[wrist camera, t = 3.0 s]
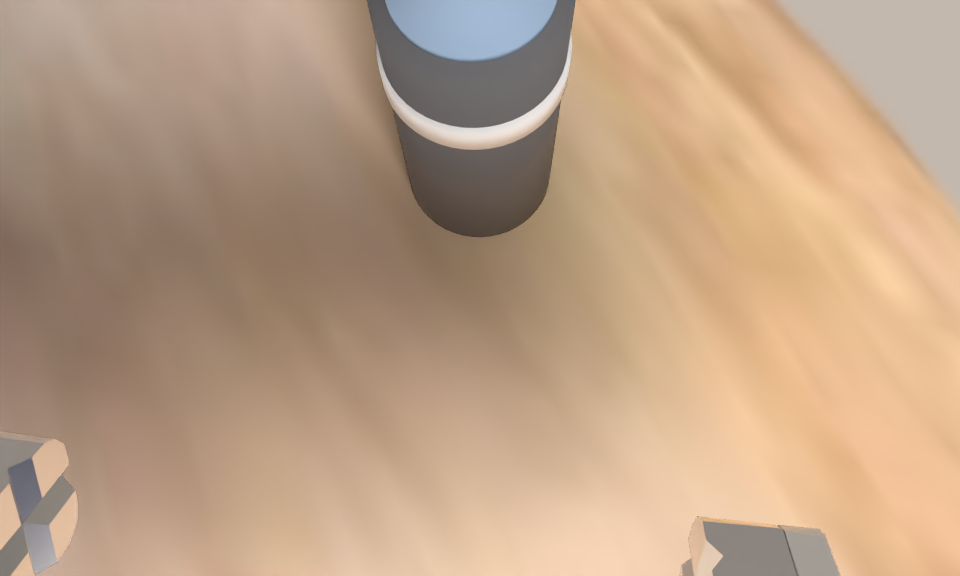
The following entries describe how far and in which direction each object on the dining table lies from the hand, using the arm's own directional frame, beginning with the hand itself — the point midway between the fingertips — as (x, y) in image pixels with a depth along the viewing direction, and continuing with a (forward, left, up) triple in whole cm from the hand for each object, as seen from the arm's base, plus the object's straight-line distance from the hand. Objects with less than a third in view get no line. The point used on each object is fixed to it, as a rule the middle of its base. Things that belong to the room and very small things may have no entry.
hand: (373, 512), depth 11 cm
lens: (0, +12, -15) cm, 19 cm away
